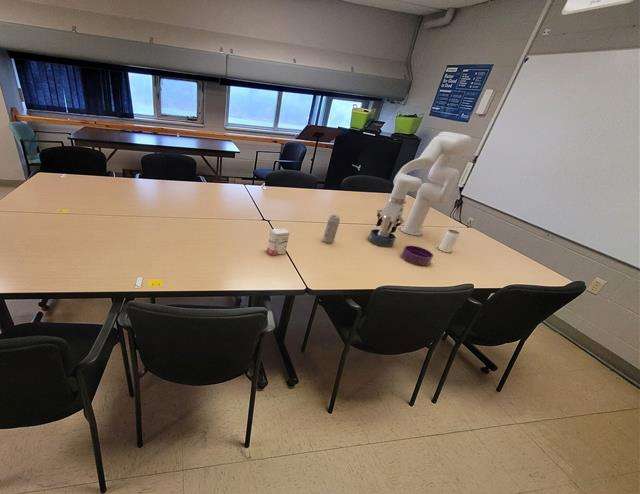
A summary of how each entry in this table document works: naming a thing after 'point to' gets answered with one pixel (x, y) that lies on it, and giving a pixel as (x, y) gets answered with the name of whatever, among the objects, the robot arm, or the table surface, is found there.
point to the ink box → (278, 241)
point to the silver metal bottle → (385, 227)
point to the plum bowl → (417, 255)
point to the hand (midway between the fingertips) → (385, 229)
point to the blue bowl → (379, 240)
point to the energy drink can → (331, 229)
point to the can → (448, 240)
